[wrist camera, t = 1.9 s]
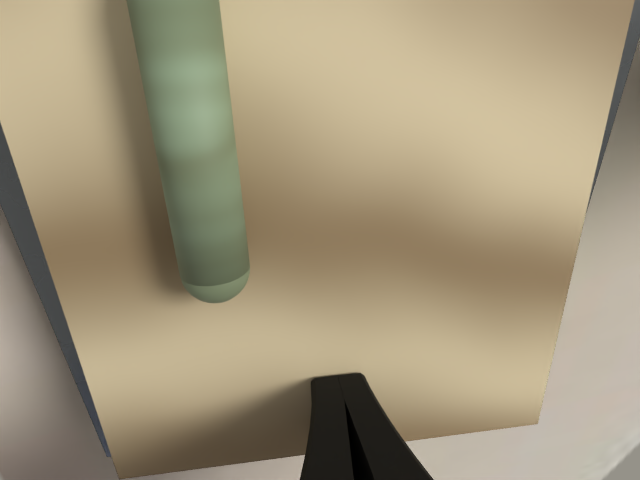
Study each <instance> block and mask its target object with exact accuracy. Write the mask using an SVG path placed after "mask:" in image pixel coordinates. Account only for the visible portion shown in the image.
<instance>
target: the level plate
mask: <svg viewBox="0 0 640 480" xmlns="http://www.w3.org/2000/svg"><path fill="white" fill-rule="evenodd" d="M634 1H635V0H0V122H1V125H2V128H3V131H4V134H5V137H6V140H7V143H8V146H9V149H10V152H11V155H12V158H13V161H14V164H15V167H16V170H17V173H18V176H19V179H20V182H21V185H22V188H23V192H24V195H25V198H26V201H27V204H28V207H29V210H30V213H31V216H32V219H33V222H34V225H35V228H36V231H37V234H38V237H39V240H40V243H41V246H42V249H43V252H44V255H45V258H46V261H47V264H48V267H49V270H50V273H51V276H52V279H53V282H54V285H55V288H56V291H57V294H58V297H59V300H60V303H61V306H62V309H63V312H64V315H65V318H66V321H67V324H68V327H69V330H70V333H71V336H72V339H73V342H74V345H75V348H76V351H77V354H78V357H79V360H80V363H81V366H82V369H83V372H84V375H85V378H86V381H87V384H88V387H89V390H90V393H91V396H92V399H93V402H94V405H95V408H96V411H97V414H98V417H99V420H100V423H101V426H102V429H103V432H104V435H105V438H106V441H107V444H108V447H109V450H110V453H111V456H112V459H113V462H114V465H115V468H116V471H117V474H118V477H119V479H125V478H132V477H140V476H147V475H155V474H163V473H170V472H178V471H185V470H193V469H200V468H208V467H216V466H223V465H231V464H238V463H246V462H253V461H261V460H268V459H276V458H284V457H291V456H299V455H305V453H306V447H307V441H308V434H309V428H310V418H311V406H312V402H311V381H312V380H313V379H314V378H320V377H328V376H337V375H346V374H355V373H362V374H363V375H364V376H365V378H366V380H367V382H368V384H369V386H370V388H371V389H372V391H373V393H374V395H375V397H376V398H377V400H378V402H379V403H380V405H381V407H382V408H383V410H384V411H385V413H386V415H387V416H388V418H389V419H390V421H391V422H392V424H393V425H394V427H395V428H396V430H397V431H398V433H399V434H400V436H401V437H402V438H403V440H404V441H412V440H420V439H427V438H435V437H443V436H450V435H458V434H465V433H473V432H480V431H488V430H496V429H503V428H511V427H518V426H526V425H533V424H538V420H539V415H540V411H541V407H542V402H543V398H544V394H545V389H546V385H547V380H548V376H549V372H550V367H551V363H552V359H553V354H554V350H555V346H556V341H557V337H558V332H559V328H560V324H561V319H562V315H563V311H564V306H565V302H566V298H567V293H568V289H569V284H570V280H571V276H572V271H573V267H574V263H575V258H576V254H577V250H578V245H579V241H580V237H581V232H582V228H583V223H584V219H585V215H586V210H587V206H588V202H589V197H590V193H591V189H592V184H593V180H594V175H595V171H596V167H597V162H598V158H599V154H600V149H601V145H602V141H603V136H604V132H605V127H606V123H607V119H608V114H609V110H610V106H611V101H612V97H613V93H614V88H615V84H616V79H617V75H618V71H619V66H620V62H621V58H622V53H623V49H624V45H625V40H626V36H627V31H628V27H629V23H630V18H631V14H632V10H633V5H634Z"/></svg>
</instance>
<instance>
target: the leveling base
mask: <svg viewBox="0 0 640 480" xmlns="http://www.w3.org/2000/svg"><path fill="white" fill-rule="evenodd" d="M639 37H640V0H635V1H634V5H633V10H632V14H631V18H630V23H629V27H628V31H627V36H626V40H625V45H624V49H623V53H622V58H621V62H620V66H619V71H618V75H617V79H616V84H615V88H614V93H613V97H612V101H611V106H610V110H609V114H608V119H607V123H606V127H605V132H604V136H603V141H602V145H601V149H600V154H599V158H598V162H597V167H596V171H595V175H594V180H593V184H592V189H591V193H590V197H589V202H590V199H591V195H592V192H593V189H594V186H595V182H596V179H597V176H598V172H599V169H600V166H601V162H602V159H603V156H604V152H605V149H606V146H607V142H608V139H609V136H610V133H611V129H612V126H613V123H614V119H615V116H616V113H617V109H618V106H619V103H620V99H621V96H622V93H623V90H624V86H625V83H626V80H627V76H628V73H629V70H630V66H631V63H632V60H633V56H634V53H635V50H636V46H637V43H638V40H639ZM589 202H588V205H589ZM0 204H1V207H2V209H3V211H4V214H5V216H6V218H7V221H8V223H9V226H10V228H11V230H12V233H13V235H14V237H15V240H16V242H17V245H18V247H19V249H20V252H21V254H22V256H23V259H24V261H25V263H26V266H27V268H28V271H29V273H30V275H31V278H32V280H33V282H34V285H35V287H36V290H37V292H38V294H39V297H40V299H41V301H42V304H43V306H44V309H45V311H46V313H47V316H48V318H49V320H50V323H51V325H52V327H53V330H54V332H55V335H56V337H57V339H58V342H59V344H60V346H61V349H62V351H63V354H64V356H65V358H66V361H67V363H68V365H69V368H70V370H71V373H72V375H73V377H74V380H75V382H76V384H77V387H78V389H79V392H80V394H81V396H82V399H83V401H84V403H85V406H86V408H87V410H88V413H89V415H90V418H91V420H92V422H93V425H94V427H95V429H96V432H97V434H98V437H99V439H100V441H101V444H102V446H103V448H104V451H105V453H106V456H107V457H110V456H111V453H110V450H109V447H108V444H107V441H106V438H105V435H104V432H103V429H102V426H101V423H100V420H99V417H98V414H97V411H96V408H95V405H94V402H93V399H92V396H91V393H90V390H89V387H88V384H87V381H86V378H85V375H84V372H83V369H82V366H81V363H80V360H79V357H78V354H77V351H76V348H75V345H74V342H73V339H72V336H71V333H70V330H69V327H68V324H67V321H66V318H65V315H64V312H63V309H62V306H61V303H60V300H59V297H58V294H57V291H56V288H55V285H54V282H53V279H52V276H51V273H50V270H49V267H48V264H47V261H46V258H45V255H44V252H43V249H42V246H41V243H40V240H39V237H38V234H37V231H36V228H35V225H34V222H33V219H32V216H31V213H30V210H29V207H28V204H27V201H26V198H25V195H24V192H23V188H22V185H21V182H20V179H19V176H18V173H17V170H16V167H15V164H14V161H13V158H12V155H11V152H10V149H9V146H8V143H7V140H6V137H5V134H4V131H3V128H2V125H1V122H0ZM587 209H588V206H587ZM586 212H587V210H586Z"/></svg>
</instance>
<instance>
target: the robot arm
mask: <svg viewBox="0 0 640 480" xmlns="http://www.w3.org/2000/svg"><path fill="white" fill-rule="evenodd" d="M311 402H312V406H311V418H310V428H309V434H308V441H307V447H306V453H305V459H304V463H303V468H302V472H301V477H300V480H433V478H432V477H431V476H430V475H429V473H428V472H427V471H426V469H425V468H424V467H423V466H422V464H421V463H420V462H419V460H418V459H417V458H416V456H415V455H414V454H413V452H412V451H411V450H410V448H409V447H408V446H407V444H406V443H405V441H404V440H403V438H402V437H401V436H400V434H399V433H398V431H397V430H396V428H395V427H394V425H393V424H392V422H391V421H390V419H389V418H388V416H387V415H386V413H385V411H384V410H383V408H382V407H381V405H380V403H379V402H378V400H377V398H376V397H375V395H374V393H373V391H372V389H371V388H370V386H369V384H368V382H367V380H366V378H365V376H364V375H363V374H362V373H355V374H346V375H337V376H328V377H320V378H314V379H313V380H312V381H311Z"/></svg>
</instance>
